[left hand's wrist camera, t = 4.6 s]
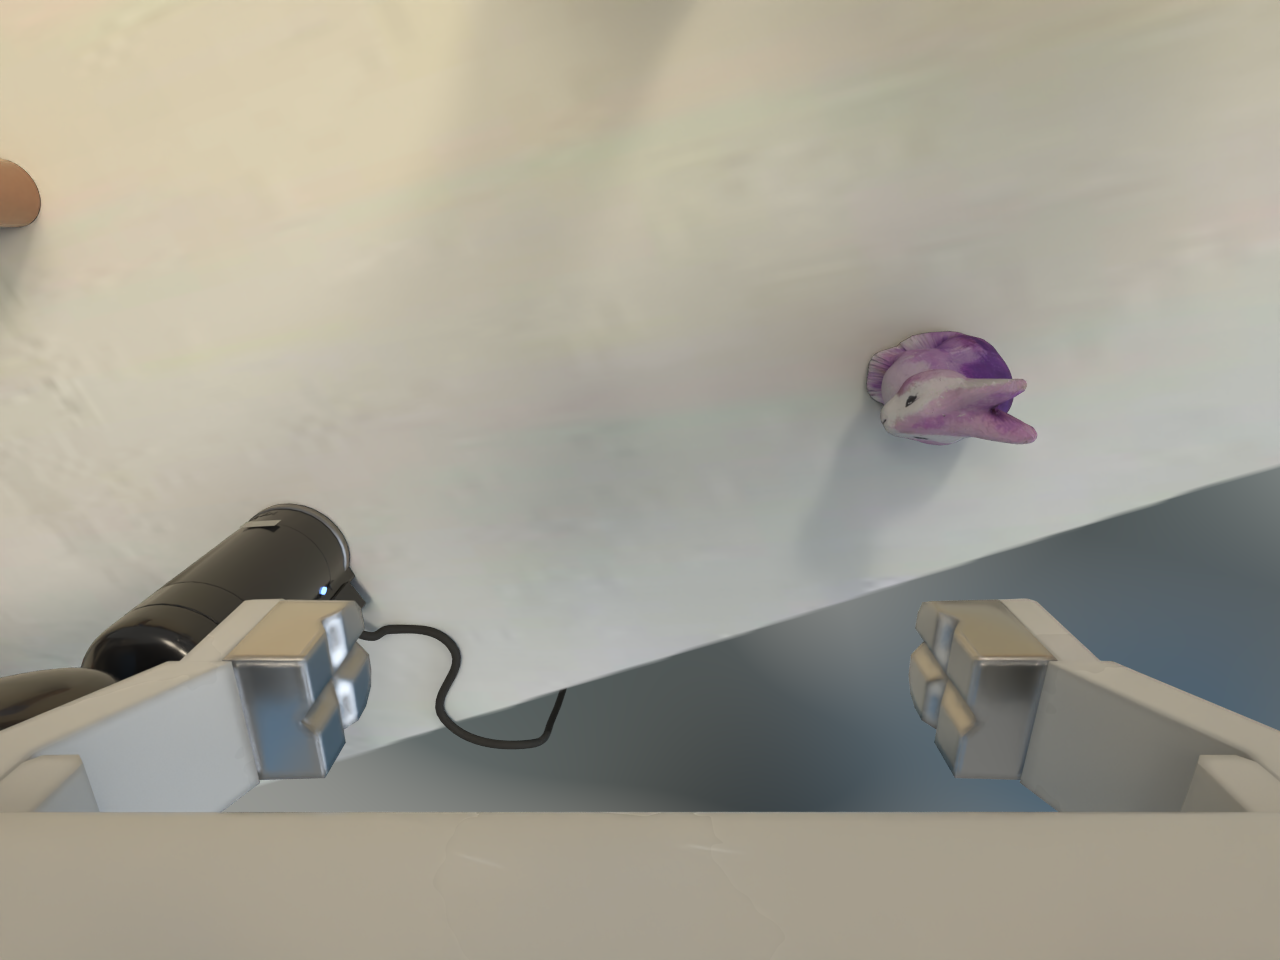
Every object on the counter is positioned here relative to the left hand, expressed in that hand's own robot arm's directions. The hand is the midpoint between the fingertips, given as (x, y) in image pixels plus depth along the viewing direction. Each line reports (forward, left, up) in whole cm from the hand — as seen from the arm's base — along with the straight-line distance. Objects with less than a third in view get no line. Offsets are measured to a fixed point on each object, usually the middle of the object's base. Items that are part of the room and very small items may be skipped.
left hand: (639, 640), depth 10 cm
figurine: (+6, +23, -48) cm, 54 cm away
